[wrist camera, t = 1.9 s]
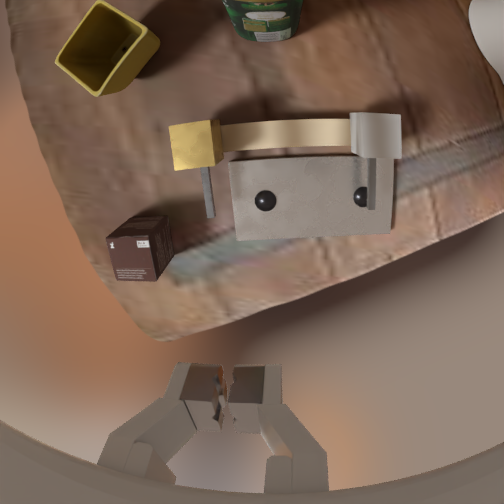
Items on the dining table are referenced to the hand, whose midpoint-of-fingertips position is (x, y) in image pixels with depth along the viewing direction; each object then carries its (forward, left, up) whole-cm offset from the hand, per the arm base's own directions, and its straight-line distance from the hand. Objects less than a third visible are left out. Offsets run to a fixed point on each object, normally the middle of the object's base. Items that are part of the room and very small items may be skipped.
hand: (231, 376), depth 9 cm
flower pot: (+15, -19, -29) cm, 38 cm away
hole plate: (-6, +2, -29) cm, 30 cm away
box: (+16, +6, -29) cm, 34 cm away
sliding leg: (+6, -3, -26) cm, 27 cm away
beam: (-4, -3, -29) cm, 29 cm away
